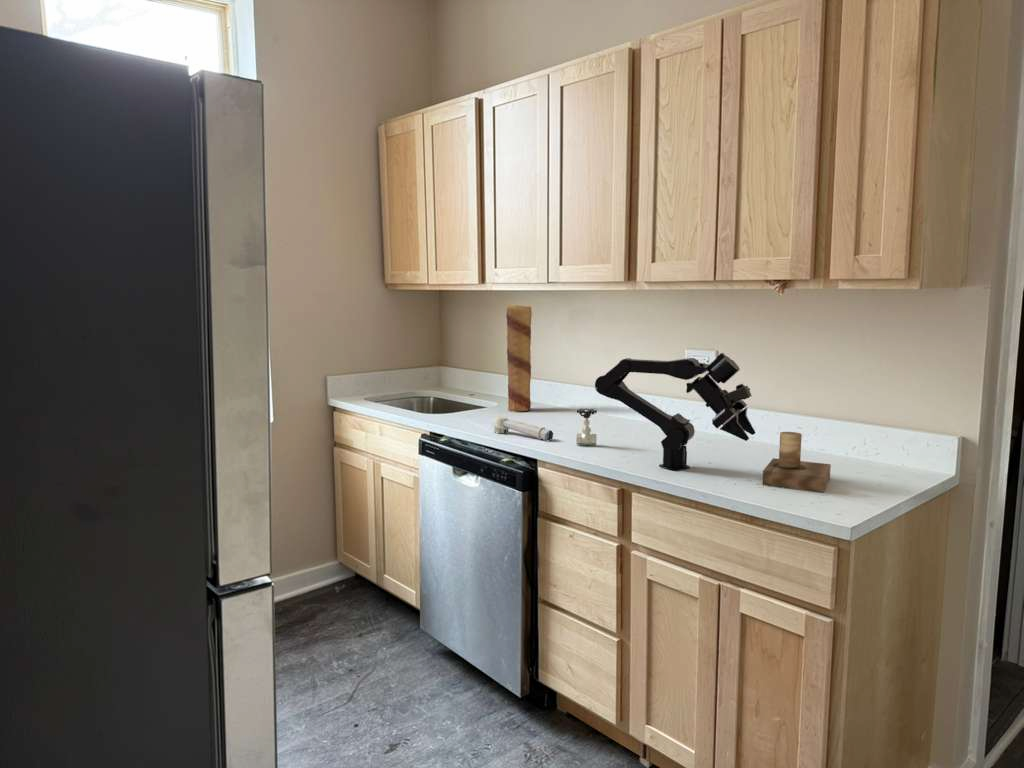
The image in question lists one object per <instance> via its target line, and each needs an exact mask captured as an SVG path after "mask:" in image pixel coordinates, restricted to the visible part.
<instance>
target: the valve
mask: <svg viewBox="0 0 1024 768" xmlns="http://www.w3.org/2000/svg"><path fill="white" fill-rule="evenodd" d="M576 413H577V414H579V415H580V416H581V417H583V418H584V420H583V427H582V428H581V432H582V433H576V436H575V437H576V438H575V439H576V445H577V446H582V445H583V446H585V445H588V446H596V445H597V433H591V432H592V428H591V427H590V424H591V423H590V420H589V418H590V417H591V415H595V414H597V413H598V411H597V409H594V408H587V407H586V408H579V409H576Z"/></svg>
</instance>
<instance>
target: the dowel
mask: <svg viewBox="0 0 1024 768" xmlns="http://www.w3.org/2000/svg"><path fill="white" fill-rule="evenodd" d="M802 437H803V436H802V433H800V432H795V431H781V432H780V433H779V448H778V449H779V450H778V452H779V453H778V459H779V467H782V468H787V469H798V468H800V461H801V457H802V454H801V453H802Z"/></svg>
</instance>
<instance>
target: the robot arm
mask: <svg viewBox="0 0 1024 768" xmlns="http://www.w3.org/2000/svg"><path fill="white" fill-rule="evenodd" d="M740 370H741V369H740V367H739V364H737V363H736V362H735V360H733V359H731V358H730V357H729V356H727V355H726V354H725V353H724V352H720V353H719V354H718V355H717V356H716V358H715V359H714V360H713V361H711V363H710V364H708V363H702V362H700V361H699V360H698V359H697V358H693V357H688V358H681V359H675V360H658V359H657V360H654V359H636V358H634V359H633V358H631V357H628V358H623V359H621V360H619V362H618V363H617V364H616V365H615V366H614V367H613V368H611V369H610V370H609V371H608V372H606V373H605V374H604V375H600V376H599V377H597V378H596V379H595V382H594V387H595V391H596V392H597V393H598V394H600V395H602V396H604V397H606V398H609V399H611V400H616V401H619V402H621V403H623V404H624V405H626V406H627V407H628V408H630V409H632V410H633V411H635V412H636V413H638V414H639V415H640V416H643V417H644V418H645V419H647V420H649V421H650V422H652V424H654V425H656V426H658V427H659V428H660V430H661V431H662V433H663V434H664V435H665V436H666V437H665V438H664V439H662V440H661V441H660V443H661V446H662V450H663V453H662V454H663V456H662V463H661V464H659V465H658V466H659V467H660V468H664V469H668V470H671V471H681V470H686V469H690V468H691V466H690V465H687V461H688V460H687V459H688V458H687V457H688V451H687V444H688V443H689V441H690V440H692V439H693V438H694V435H695V431H696V430H695V426H694V425H693V424H692V422H690V421H691V419H688V418H685V417H684V416H683V415H682V414H680V413H679V412H678V413H675V414H674V415H670V414H668V413H666V412H665V411H663V410H662V409H660V408H659V407H657V406H656V405H654V404H652V403H651V402H649V401H648V400H646V399H645V398H644V397H642V396H640V395H638V394H637V393H636V392H634V391H633V390H630V388H629V387H628V385H626V384H625V382H624V380H625V379H626V377H627V376H628V375H629V374H630V373H636V374H637V373H639V374H656V375H667V376H669V377H673V378H677V379H679V380H684V381H688V380H691V379H694V378H695V379H694V380H693V381H692V382H687V383H685V385H686V390H685V391H686V392H685V393H687V394H689V393H691V392H692V391H695V393H697V395H698V396H699V397H700V398H701V399H702V400H703V401H704V402H705V404H704V405H705V407H706V408H710V409H711V410H712V411H713V412H714V413H715V416H714V417H713V418H712V419H711V420H712V421H711V422H712V425H713V426H714V427H715V428H716V429H719V430H720V431H722V432H726V433H727V434H730V435H732V436H735V437H737V438H739V439H741V440H743V441H745V442H747V441H748V440H749V439H750V438H749V435H748V434H750V435H752V436H754V435H755V434H756V431H755V429H754V427H753V425H752V423H751V421H750V420H749V417H748V415H747V414H748V407H747V406H748V404H747V403H746V402H745V401H744V400H747V399H750V398H751V397H752V393H751V389H750V388H749V386H748V385H744V384H743V383H740V384H738V385H736V386H735V389H734V390H732V391H729V392H728V390H727V389H722V388H721V386H719V384H720V383H722V384H725V383H727V382H728V381H729V380H730V379H731V378H733V377H734V376H735V375H736V374H737V373H738V372H739V371H740ZM705 373H706V374H705ZM703 374H705V375H704V376H702V377H701V376H699V375H703ZM747 433H748V434H747Z"/></svg>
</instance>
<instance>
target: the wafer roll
mask: <svg viewBox="0 0 1024 768" xmlns="http://www.w3.org/2000/svg"><path fill="white" fill-rule="evenodd" d="M532 314H533V313H532V307H531V306H525V305H508V306H507V307H506V315H505V316H506V328H507V330H506V332H507V335H506V339H507V344H506V347H507V349H506V356H507V360H506V361H507V382H508V383H507V397H508V398H507V399H508V402H507V403H508V408H507V409H508V410H507V411H509V410H510V412H512V411H517V412H516V413H519V412H528V411H530V410H531V406H532V405H531V404H532V401H531V381H532V380H531V378H532V377H531V376H532V364H531V343H532V342H531V339H532V335H531V334H532V326H531V325H532V317H533V316H532Z"/></svg>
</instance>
